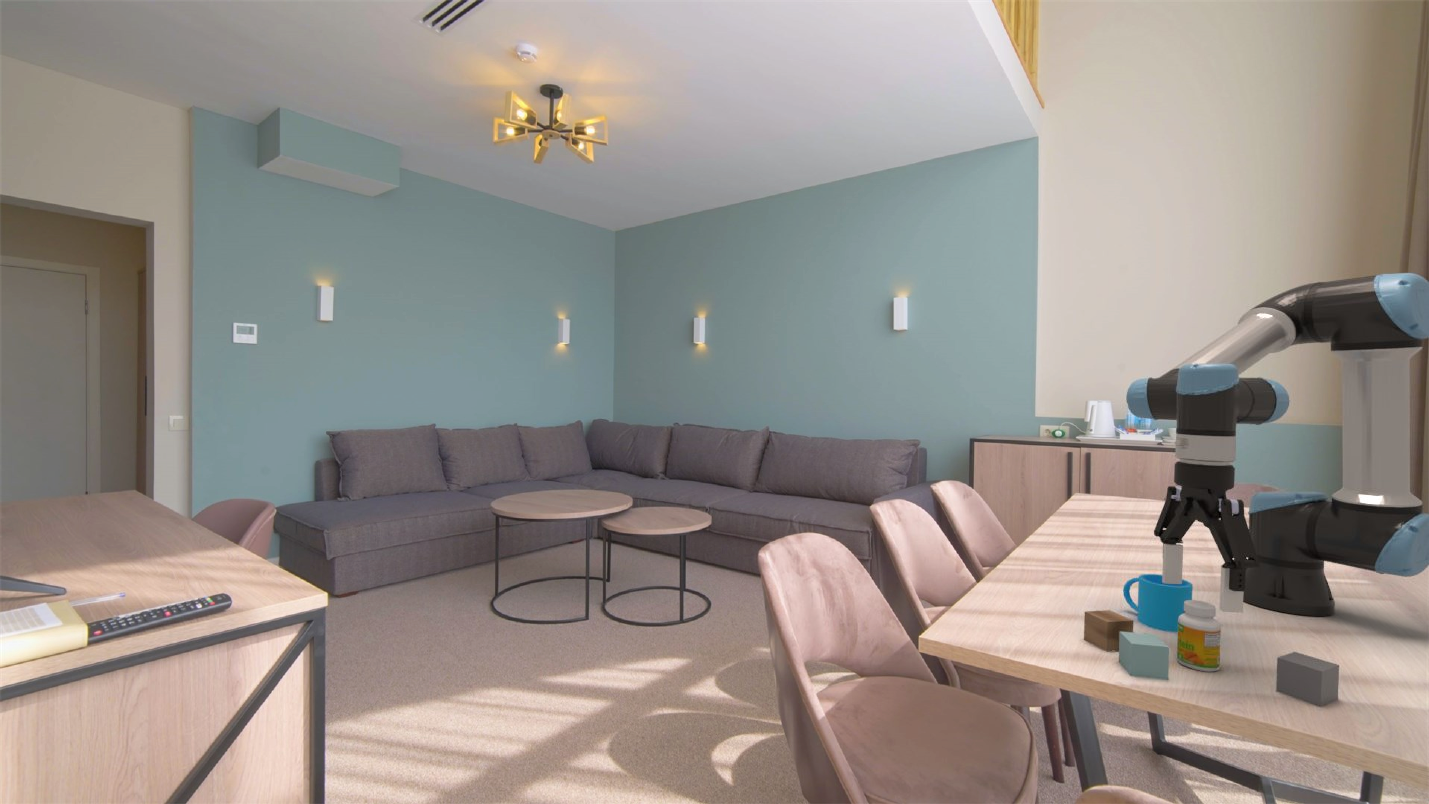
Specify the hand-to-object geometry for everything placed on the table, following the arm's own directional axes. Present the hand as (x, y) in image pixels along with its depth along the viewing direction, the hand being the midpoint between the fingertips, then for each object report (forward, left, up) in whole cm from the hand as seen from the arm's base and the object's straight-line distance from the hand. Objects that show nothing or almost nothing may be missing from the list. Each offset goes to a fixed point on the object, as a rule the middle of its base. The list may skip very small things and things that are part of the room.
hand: (1199, 596), depth 101 cm
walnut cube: (+10, -7, -11) cm, 16 cm away
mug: (-5, -20, -11) cm, 23 cm away
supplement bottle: (0, 0, -11) cm, 11 cm away
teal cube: (+10, +3, -11) cm, 15 cm away
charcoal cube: (-9, +9, -11) cm, 17 cm away
